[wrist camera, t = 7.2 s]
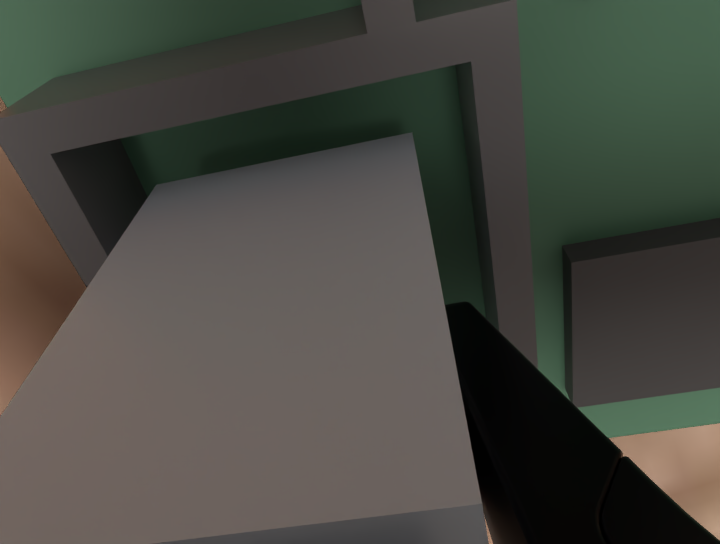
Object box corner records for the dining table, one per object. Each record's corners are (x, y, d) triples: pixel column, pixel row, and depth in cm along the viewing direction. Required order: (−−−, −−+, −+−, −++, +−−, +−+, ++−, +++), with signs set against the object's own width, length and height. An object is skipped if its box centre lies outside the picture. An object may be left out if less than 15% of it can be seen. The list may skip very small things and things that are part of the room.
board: (1212, -669, 6) (1824, -1065, 3) (840, 372, 14) (939, 475, 12) (-137, -230, 8) (-365, -278, 5) (234, 458, 16) (211, 560, 14)
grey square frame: (486, -25, 8) (516, -1, 7) (519, 364, 13) (541, 436, 11) (52, 78, 9) (-15, 122, 8) (223, 409, 14) (204, 482, 12)
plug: (412, 132, 8) (492, 553, 3) (458, 398, 12) (535, 826, 6) (156, 184, 9) (-139, 622, 4) (268, 426, 12) (194, 843, 7)
